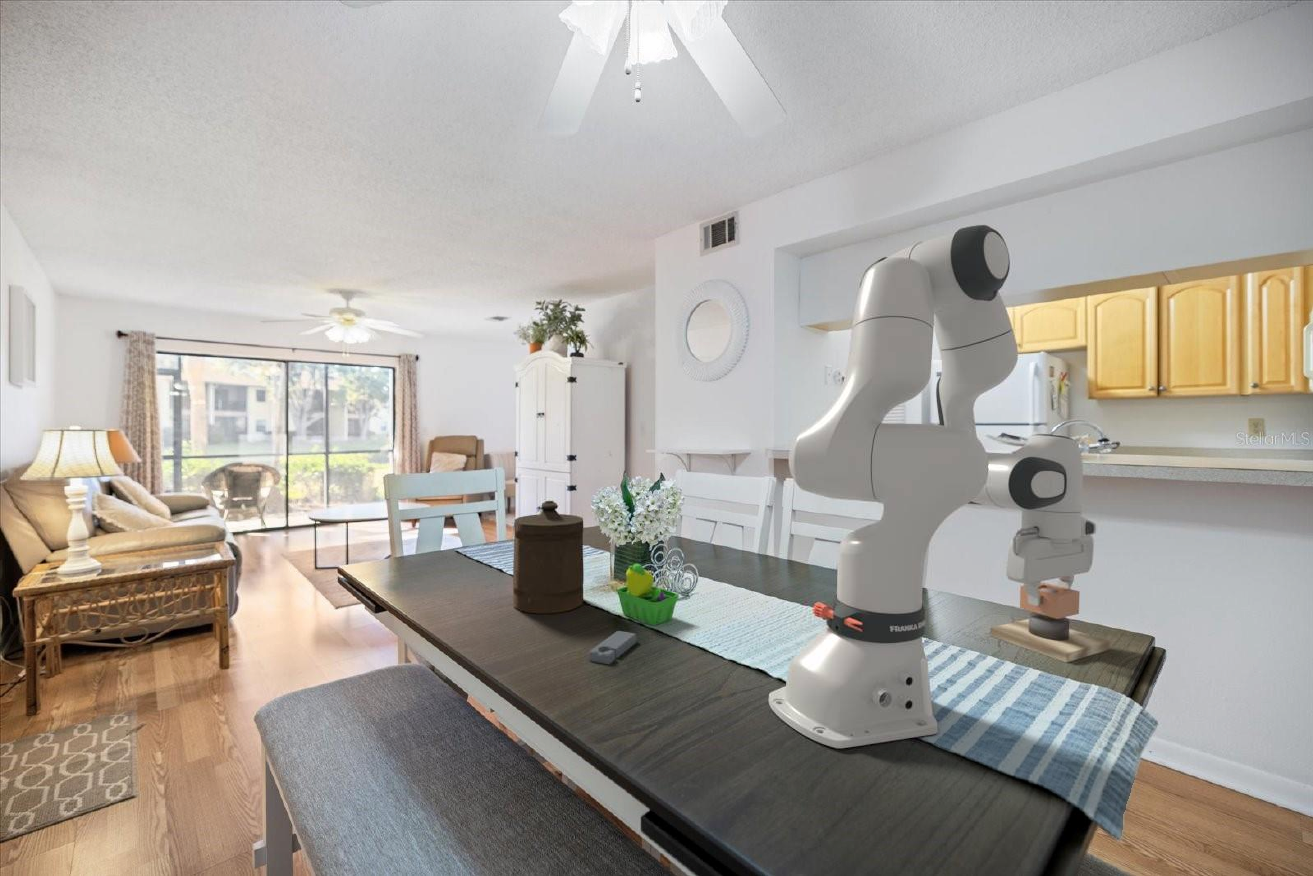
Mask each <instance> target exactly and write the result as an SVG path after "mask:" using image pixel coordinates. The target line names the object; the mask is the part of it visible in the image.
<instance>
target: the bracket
mask: <svg viewBox="0 0 1313 876" xmlns="http://www.w3.org/2000/svg"><path fill="white" fill-rule="evenodd" d="M636 643H637V634H636V633H633V632H628V631H622V630H617V631H615V632H614V633H613V634H611V635H610V636H608V637H607V638H606V639H604V640H603V641H602V642H600V643H599V644H597V645H596V646H594V648H592V649H590V650H589V651H588V661H590V662H594V663H600V664H604V665H610V664H612V663H613V662H614V661H615V660H616V659H617V658H619V657H620V656H621V655H623V654H624V653H625V652H626V651H628V650H629V649H630V648H631V647H633V646H634V645H635V644H636Z"/></svg>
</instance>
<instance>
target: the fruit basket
mask: <svg viewBox="0 0 1313 876" xmlns="http://www.w3.org/2000/svg"><path fill="white" fill-rule="evenodd" d="M625 573H626V574H625V577H626V581H625V583H626V586H623V587H619V588H617V589H616V593H617V595H618V599H619V603H620V606H621V611H622V614H623V615H624V616H628V617H630V618H632V619H636V620H638V621H641V622H643V623H647V624H648V625H650V626H655V625H659V624H662V623H664V622H667V621H671V620H672V619H673V615H674V611H675V607H676V603H677V601H678V599H679V596H680V594H679V593H676V592H672V591H669V590H667V589H665V588H664V589H663V588H660V587H656V586H653V584H654V580H655V577H654V576H653V574H652V573H650V572H649V571H648V570H646V569H644V567H643V566H642V564H639V563H634V564H633V565H629V567H628V569H627V570H626V572H625Z"/></svg>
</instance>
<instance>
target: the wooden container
mask: <svg viewBox="0 0 1313 876" xmlns="http://www.w3.org/2000/svg"><path fill="white" fill-rule="evenodd" d="M558 508H559V505H558V504H557V502H555V501H554V500H546V501H544V502H542V503H541V509H542V511H541V512H540V513H539V514H531V515H529V514H528V515H523V516H520V517H517V518H515V519H514V527H513V529H514V535H513V536H514V537H513V563H512V566H513V569H512V574H513V575H512V587H513V588H512V589H513V591H512V594H513V595H512V596H513V597H512V602H513V603H512V606H513V607H514V608H515V609H516V610H518V611H522V612H524V613H529V614H539V615H541V614H543V615H545V614H549V615H550V614H557V613H564V612H567V611H568V612H569V611H572V610H574V609H577V608H578V607H579V608H580V606H582V605H583V603H584V583H585V582H584V581H585V580H584V572H585V571H584V538H583V534H584V519H583V517H581V516H578V515H573V514H562V513H559V512H558V511H557V509H558Z"/></svg>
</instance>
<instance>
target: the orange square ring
mask: <svg viewBox="0 0 1313 876" xmlns="http://www.w3.org/2000/svg"><path fill="white" fill-rule="evenodd" d="M1041 588H1051V589H1055V590H1058V593H1052V592H1049V591H1045V590H1041ZM1039 591H1040V595H1043V604H1042V605H1038V606H1034V605H1031V604H1029V603H1028V593H1027V591H1026V589H1025V587H1024V585H1020V591H1019V593H1020V594H1019V595H1020V596H1019V608H1020V609H1023V610H1027V611H1030V612H1031V613H1032V612H1036V613H1039V614H1042V615H1046V616H1049V617H1053V618H1056V619H1059V618H1064V617H1065V618H1068V617H1071V616H1075V615H1079V614H1080V594H1081V593H1080V591H1079V590H1075V589H1071V588H1070V589H1068V588H1064V587H1060V586H1057V585H1055V584H1051V583H1047V582H1044V581H1041V586H1040V587H1039Z"/></svg>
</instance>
